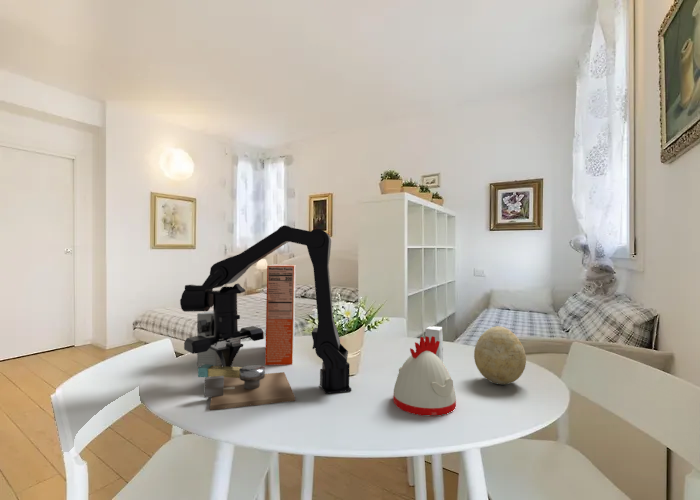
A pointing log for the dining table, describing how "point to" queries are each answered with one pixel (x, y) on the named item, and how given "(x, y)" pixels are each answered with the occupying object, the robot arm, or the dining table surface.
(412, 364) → the kitchen timer
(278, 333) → the orange upright rectangular box
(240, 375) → the metal scoop
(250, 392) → the base
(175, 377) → the dining table surface
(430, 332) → the skincare box
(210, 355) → the skincare box
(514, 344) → the fossilized egg
